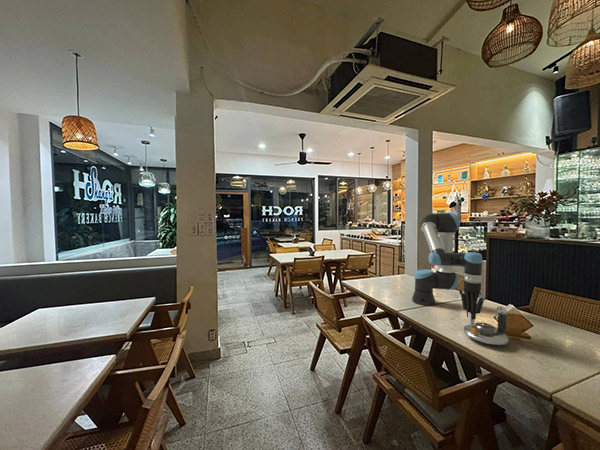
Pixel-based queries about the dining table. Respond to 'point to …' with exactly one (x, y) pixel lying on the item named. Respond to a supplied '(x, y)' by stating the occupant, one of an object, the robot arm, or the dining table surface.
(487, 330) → the cover
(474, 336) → the platter
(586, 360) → the dining table surface
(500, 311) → the indicator post
